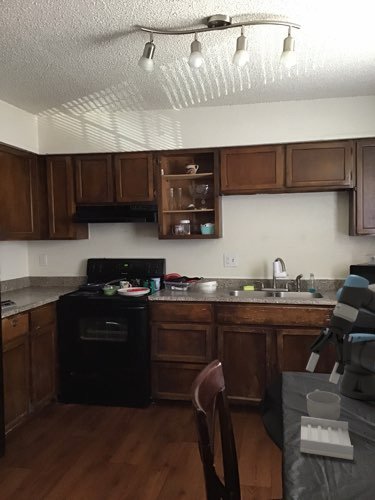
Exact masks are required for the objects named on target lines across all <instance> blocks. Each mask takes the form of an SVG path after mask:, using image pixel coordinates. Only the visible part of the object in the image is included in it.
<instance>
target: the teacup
mask: <svg viewBox="0 0 375 500" xmlns="http://www.w3.org/2000/svg"><path fill="white" fill-rule="evenodd" d="M341 400H342V399H341V397H340V396H339V395H338V394H336V393H333V392H330V391H325V390H324V391H323V390H320V389H314V391H310V392H309V393H307V394H306V406H307V413H308V417H312V418H320V419H328V420H336V421H338V419H339V418H340V415H341Z"/></svg>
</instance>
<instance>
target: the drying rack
mask: <svg viewBox="0 0 375 500" xmlns="http://www.w3.org/2000/svg"><path fill="white" fill-rule="evenodd" d="M300 421H301V422H300V426H301V427H300V447H299V451H300V453H307V454H311V455H312V454H313V455H318V456H325V457H333V458H338V459H339V458H340V459H346V460H354V445H352V444H351V439H350V434H349V422H348V421H343V420H328V419H320V418H312V417H310V416H302V415H301V418H300Z"/></svg>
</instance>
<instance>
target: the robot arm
mask: <svg viewBox="0 0 375 500" xmlns="http://www.w3.org/2000/svg"><path fill="white" fill-rule="evenodd" d="M359 311H360V312H363V313H364V312H365V313H367V314H370V315H373V316H374V317H375V283H372V284H370V281H369V280H368V279H366V278H365V277H362V276H359V275H356V274H349V275H348V276H347V277H346V279H345V281H344V283H343V284H342V287H341V288H339V289H338V291H337V292H336V305H335V306H334V309H333V312H332V313H333V314H332V315H331V317H330V318H329V319H330V320H329V322H328V325H329V328H328V327H325V326H323V327H322V329H321V330H320V333H319V334H318V335H317V336H316V338H315V339H314V340H313V341H312V343H311V344H310V345H309V347H308V348H309V350H310V351H311V353H310V356H309V359H308V362H307V365H306V368H305V370H306V371H308V372H311V373H314V370H315V368H316V367H317V366H316V365H317V363H318V361H319V358H320V355H321V354H320V353H321V352H322V351H323V350H324V349H326V348H327V347H328V346H329V345H332V344H333V345H335V347H336V354H337V360H336V361H335V364H334V366H333V369H332V370H331V374H330V376H329V379H328V381H329V382H330V383H333V384H335V385H337V384H338V382H339V380H340V377H341V375H342V377H341V380H340V382H339V384H338V392H339V393H340V394H342V395H344V396H346V397H348V398H352V399H356V400H360V401H361V400H362V401H374V400H375V334H373V333H372V334H371V333H351V332H352V329H353V327H354V322H356V320H357V317H358V314H359ZM342 373H343V374H342Z"/></svg>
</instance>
